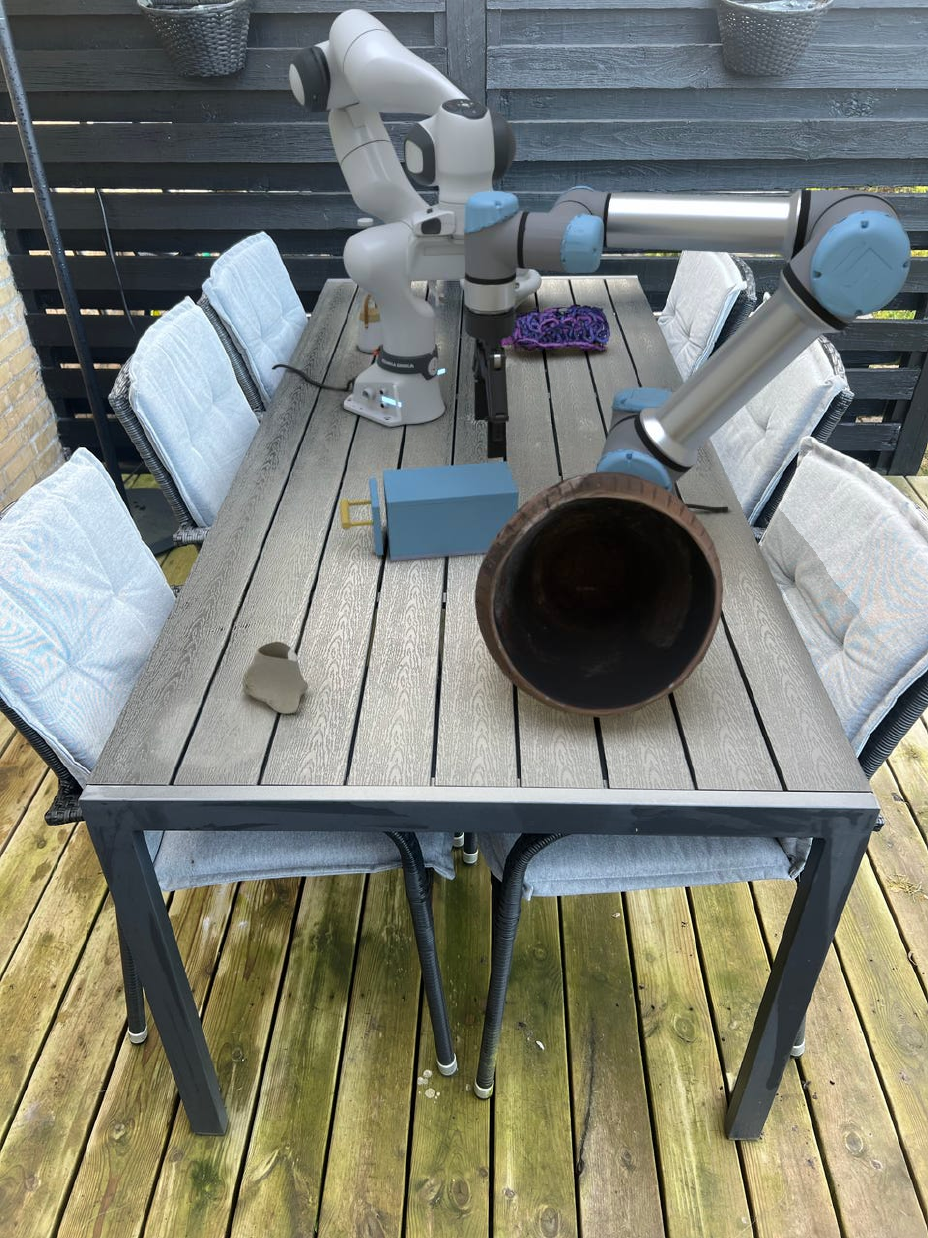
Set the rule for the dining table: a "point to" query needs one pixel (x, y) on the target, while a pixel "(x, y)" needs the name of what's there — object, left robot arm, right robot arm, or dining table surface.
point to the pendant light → (369, 317)
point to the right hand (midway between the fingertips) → (489, 437)
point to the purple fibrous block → (560, 329)
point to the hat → (523, 286)
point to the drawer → (375, 521)
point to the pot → (600, 594)
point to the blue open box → (447, 509)
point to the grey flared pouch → (275, 678)
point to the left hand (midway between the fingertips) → (468, 304)
